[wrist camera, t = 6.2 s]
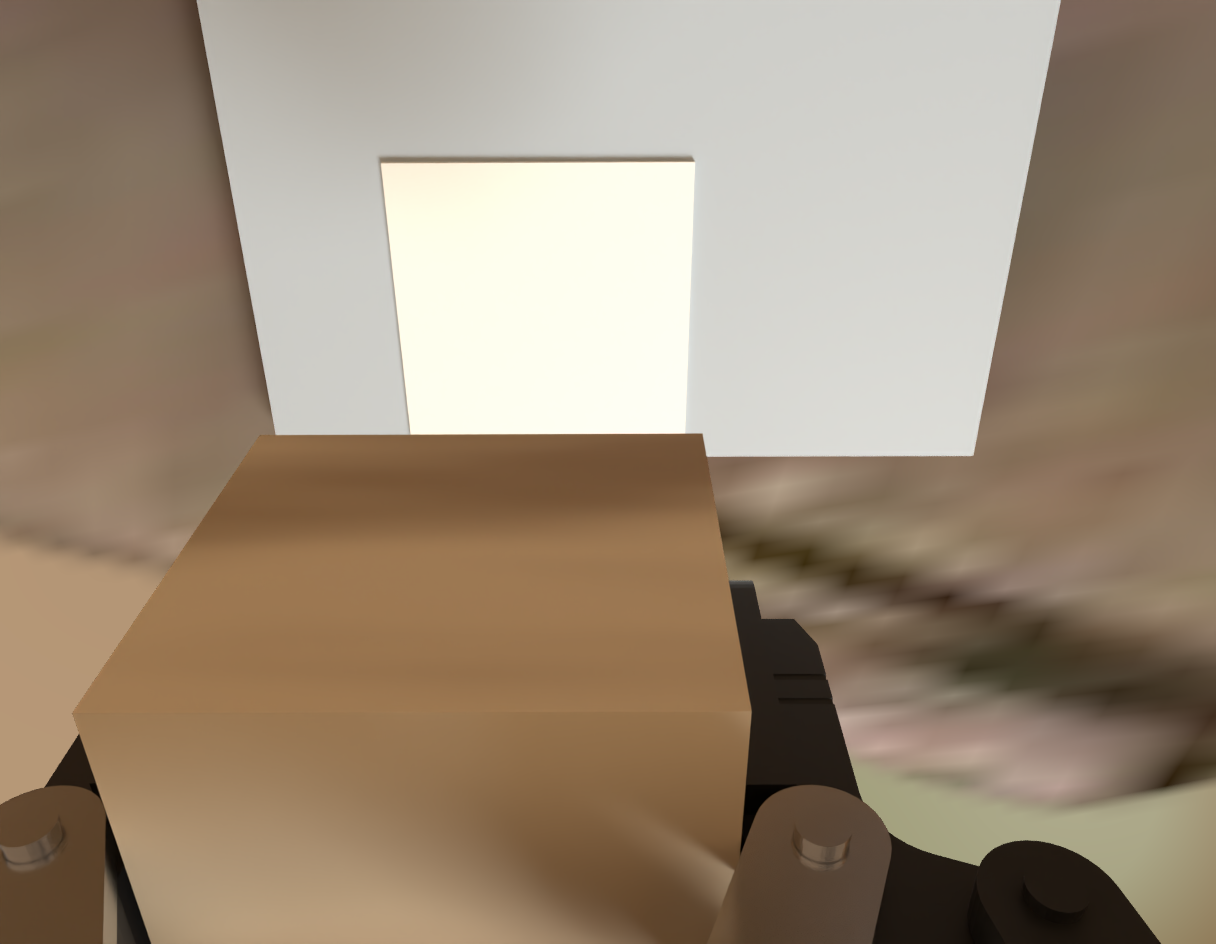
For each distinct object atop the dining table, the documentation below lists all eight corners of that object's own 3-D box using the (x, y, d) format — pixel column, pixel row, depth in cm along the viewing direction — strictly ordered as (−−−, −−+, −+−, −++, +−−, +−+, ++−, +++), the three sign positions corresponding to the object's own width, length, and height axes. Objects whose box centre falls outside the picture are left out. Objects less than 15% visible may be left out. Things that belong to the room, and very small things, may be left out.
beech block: (259, 434, 13) (72, 712, 8) (702, 433, 13) (751, 712, 8) (322, 761, 15) (206, 1103, 11) (688, 760, 15) (718, 1103, 11)
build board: (205, -66, 22) (181, -65, 20) (1051, -70, 21) (1077, -70, 20) (292, 436, 27) (278, 460, 26) (958, 434, 27) (975, 458, 26)
